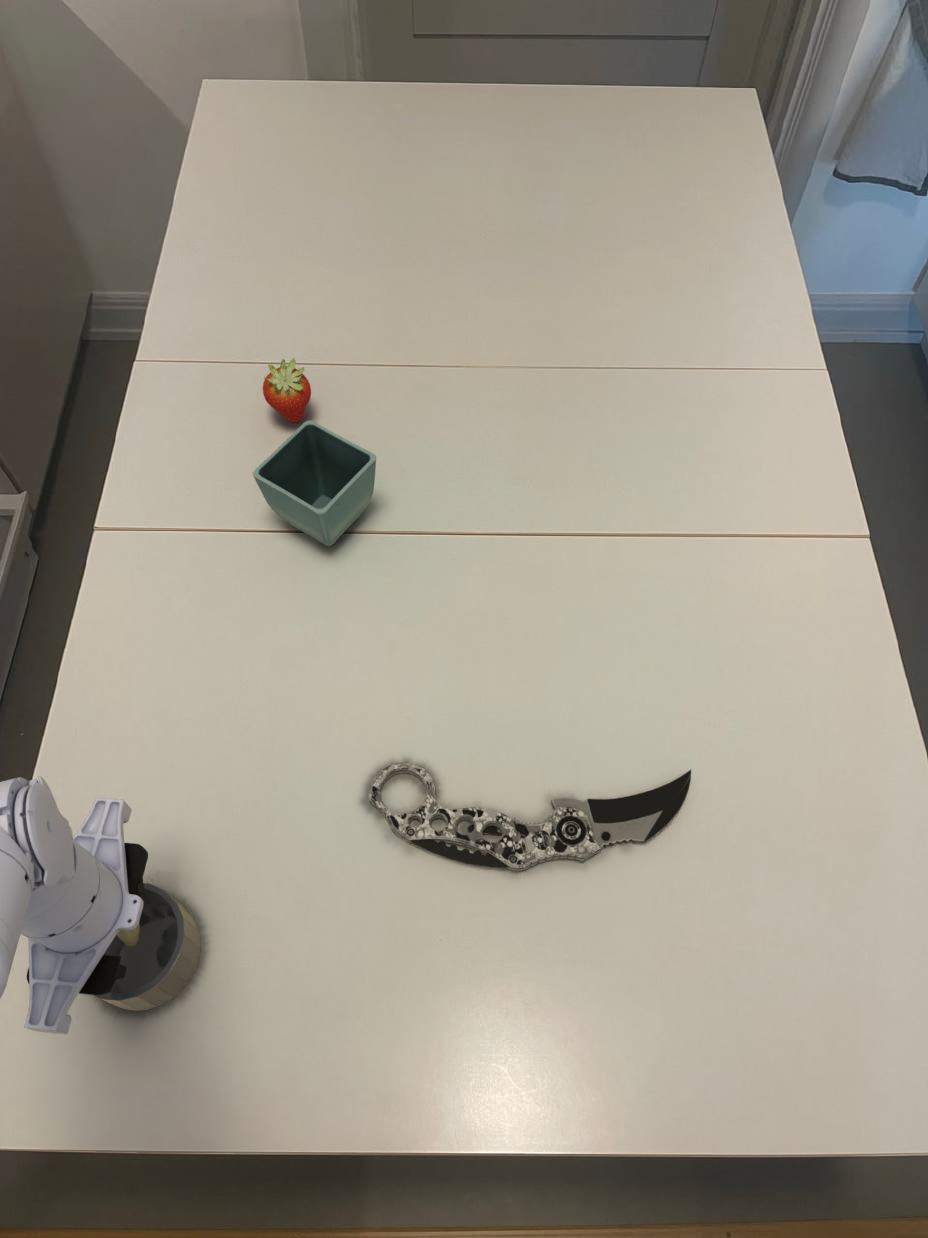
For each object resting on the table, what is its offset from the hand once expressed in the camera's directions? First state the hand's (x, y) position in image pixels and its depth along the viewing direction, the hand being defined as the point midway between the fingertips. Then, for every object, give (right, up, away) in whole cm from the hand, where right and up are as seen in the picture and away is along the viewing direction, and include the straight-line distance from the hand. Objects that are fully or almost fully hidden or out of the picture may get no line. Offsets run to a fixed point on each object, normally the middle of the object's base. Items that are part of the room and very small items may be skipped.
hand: (121, 936), depth 65 cm
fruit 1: (0, -1, +2) cm, 2 cm away
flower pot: (+10, +33, +28) cm, 45 cm away
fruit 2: (+6, +46, +36) cm, 58 cm away
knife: (+31, +6, +12) cm, 34 cm away
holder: (0, -3, +6) cm, 7 cm away
